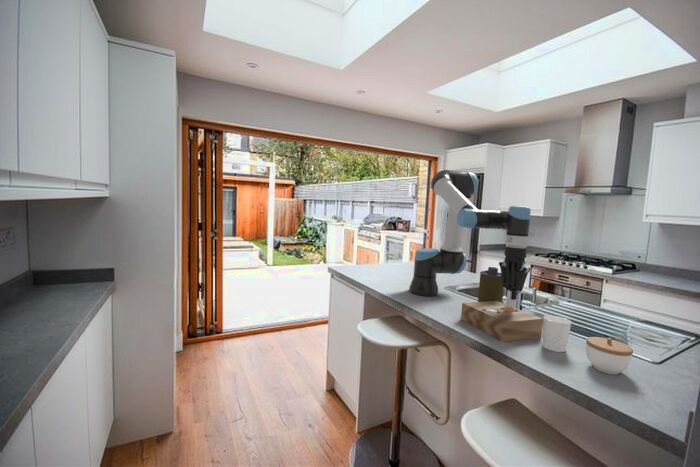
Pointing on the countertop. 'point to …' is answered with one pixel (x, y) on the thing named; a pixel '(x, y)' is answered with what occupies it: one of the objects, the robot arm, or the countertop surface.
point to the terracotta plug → (509, 309)
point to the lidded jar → (608, 354)
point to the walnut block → (502, 321)
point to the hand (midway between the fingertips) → (510, 306)
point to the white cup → (555, 333)
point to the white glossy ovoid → (491, 311)
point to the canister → (490, 286)
